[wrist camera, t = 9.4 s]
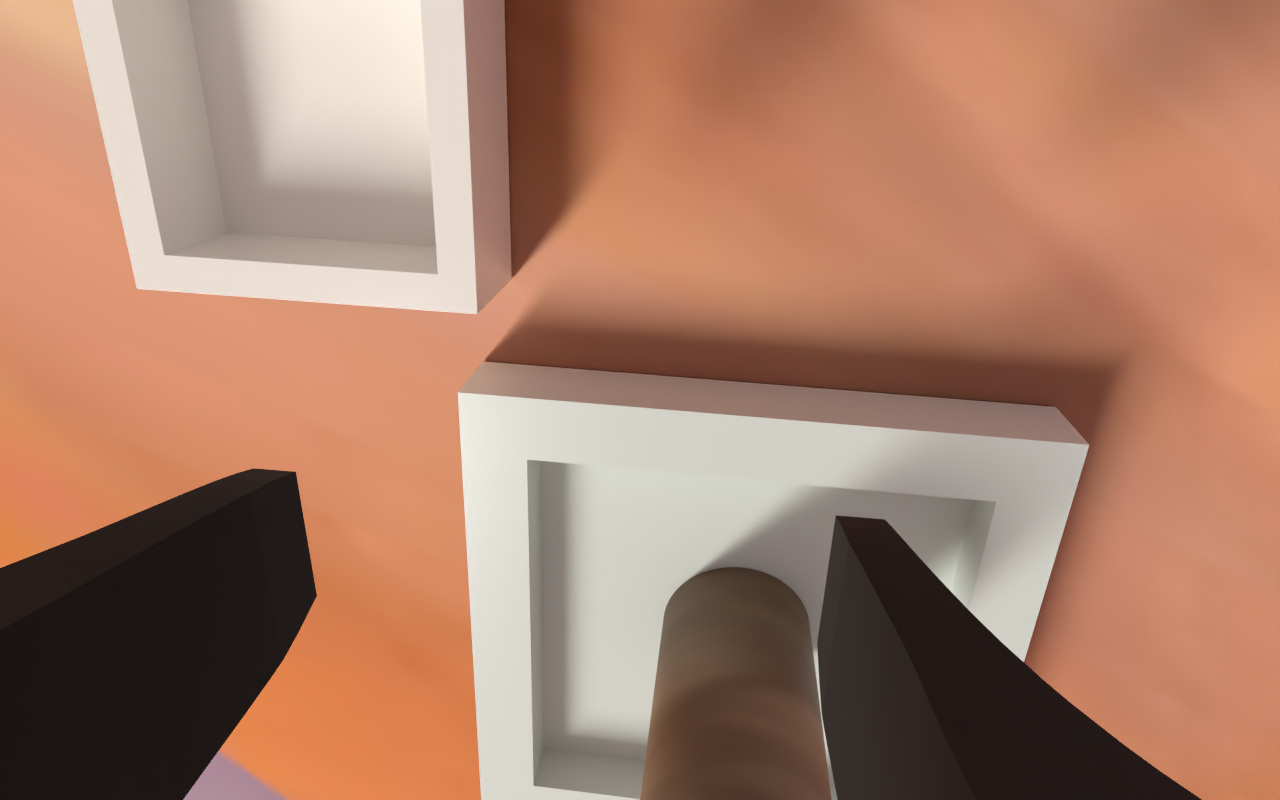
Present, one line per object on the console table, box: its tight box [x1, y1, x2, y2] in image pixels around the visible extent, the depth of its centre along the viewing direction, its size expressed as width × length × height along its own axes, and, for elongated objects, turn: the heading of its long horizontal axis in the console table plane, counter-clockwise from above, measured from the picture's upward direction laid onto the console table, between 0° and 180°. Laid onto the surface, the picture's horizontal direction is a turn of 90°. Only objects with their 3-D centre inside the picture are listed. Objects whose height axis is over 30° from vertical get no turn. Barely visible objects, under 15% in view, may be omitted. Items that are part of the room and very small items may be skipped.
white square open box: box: [73, 0, 512, 314], centre depth 17 cm, size 8×8×3 cm
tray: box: [458, 361, 1089, 800], centre depth 22 cm, size 14×14×2 cm
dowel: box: [640, 567, 832, 800], centre depth 18 cm, size 4×4×8 cm
